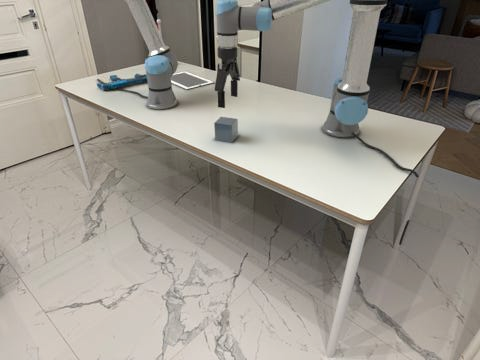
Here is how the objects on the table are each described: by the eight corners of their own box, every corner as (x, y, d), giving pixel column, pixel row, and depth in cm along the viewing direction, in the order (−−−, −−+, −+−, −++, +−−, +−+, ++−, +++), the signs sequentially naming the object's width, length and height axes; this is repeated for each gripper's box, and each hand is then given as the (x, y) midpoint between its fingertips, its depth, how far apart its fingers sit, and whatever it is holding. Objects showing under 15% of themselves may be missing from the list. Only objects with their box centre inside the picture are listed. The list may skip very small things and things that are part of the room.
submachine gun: (141, 68, 225) (159, 74, 208) (142, 74, 227) (160, 80, 210) (89, 78, 206) (104, 86, 190) (91, 84, 208) (106, 92, 192)
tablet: (159, 77, 217) (158, 76, 217) (185, 71, 228) (185, 71, 228) (186, 89, 197) (186, 89, 197) (214, 82, 208) (214, 82, 208)
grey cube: (237, 135, 146) (237, 118, 142) (232, 142, 140) (231, 125, 136) (221, 133, 148) (220, 116, 144) (215, 139, 143) (214, 122, 138)
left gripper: (229, -22, 167) (230, 24, 179) (209, -20, 147) (211, 33, 159) (244, -22, 165) (244, 25, 177) (225, -19, 145) (226, 34, 157)
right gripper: (230, 39, 137) (230, 91, 148) (203, 52, 117) (206, 111, 129) (248, 41, 134) (247, 93, 146) (223, 54, 115) (224, 113, 127)
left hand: (228, 29), depth 168 cm, fingers open, 13 cm apart
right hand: (228, 101), depth 137 cm, fingers open, 13 cm apart
